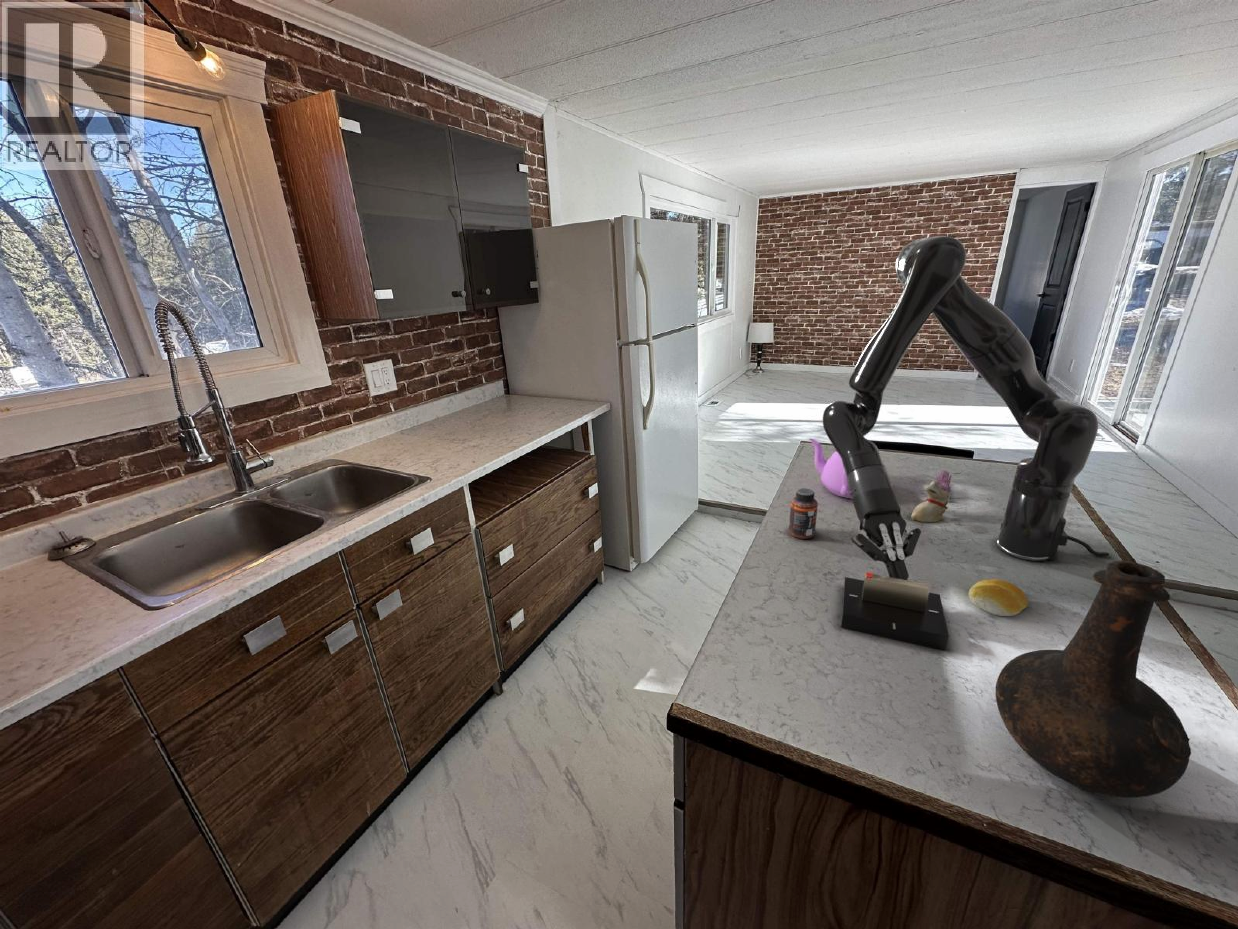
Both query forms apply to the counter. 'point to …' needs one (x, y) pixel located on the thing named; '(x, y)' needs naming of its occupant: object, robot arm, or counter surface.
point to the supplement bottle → (803, 514)
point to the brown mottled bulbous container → (1099, 697)
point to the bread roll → (998, 597)
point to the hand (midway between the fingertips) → (901, 582)
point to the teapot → (832, 471)
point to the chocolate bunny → (932, 505)
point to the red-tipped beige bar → (895, 592)
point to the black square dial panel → (894, 618)
